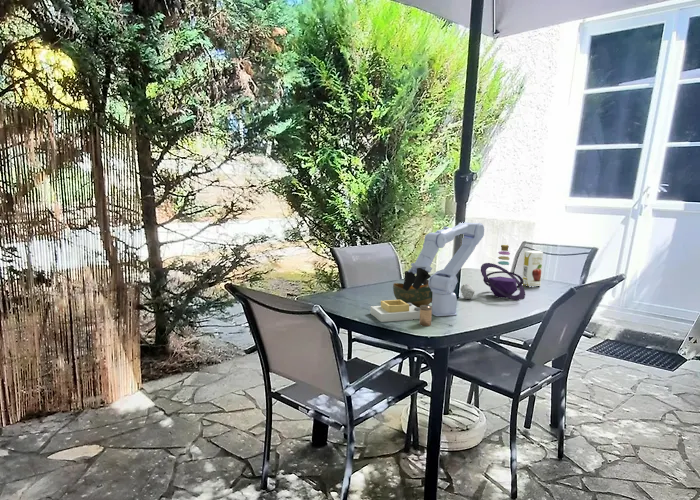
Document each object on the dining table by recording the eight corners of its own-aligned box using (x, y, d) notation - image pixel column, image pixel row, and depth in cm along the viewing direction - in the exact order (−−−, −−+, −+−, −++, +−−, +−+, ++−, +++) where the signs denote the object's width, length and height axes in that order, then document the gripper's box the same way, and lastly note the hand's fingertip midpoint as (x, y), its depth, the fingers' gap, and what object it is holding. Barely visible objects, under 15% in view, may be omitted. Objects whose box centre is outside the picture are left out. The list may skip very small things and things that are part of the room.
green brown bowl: (416, 311, 187) (417, 287, 186) (389, 301, 204) (390, 279, 203) (440, 308, 193) (441, 285, 192) (413, 298, 211) (413, 277, 209)
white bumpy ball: (466, 296, 216) (467, 282, 215) (477, 299, 210) (478, 285, 209) (457, 297, 213) (457, 283, 212) (467, 301, 207) (468, 286, 206)
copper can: (427, 322, 172) (428, 304, 171) (433, 325, 168) (434, 307, 167) (417, 323, 171) (418, 305, 170) (422, 326, 167) (423, 308, 166)
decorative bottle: (508, 304, 202) (512, 249, 199) (469, 295, 218) (472, 244, 215) (534, 297, 216) (538, 246, 213) (495, 289, 232) (498, 241, 229)
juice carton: (519, 285, 245) (522, 250, 242) (533, 284, 247) (535, 250, 245) (529, 288, 238) (531, 252, 235) (542, 287, 240) (545, 252, 238)
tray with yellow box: (410, 310, 189) (411, 297, 188) (424, 318, 177) (424, 305, 176) (370, 313, 183) (370, 300, 182) (381, 321, 172) (381, 307, 171)
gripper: (408, 255, 180) (392, 284, 175) (427, 250, 166) (411, 281, 162) (421, 265, 181) (406, 294, 177) (441, 261, 168) (426, 292, 164)
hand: (409, 289), depth 170 cm, fingers open, 7 cm apart
